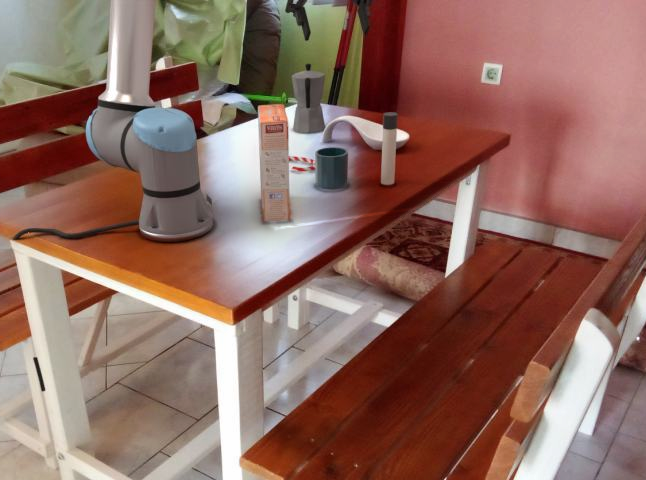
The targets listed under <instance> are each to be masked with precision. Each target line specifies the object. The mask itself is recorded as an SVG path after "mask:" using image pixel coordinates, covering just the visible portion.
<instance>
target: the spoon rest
mask: <svg viewBox="0 0 646 480" xmlns="http://www.w3.org/2000/svg"><path fill="white" fill-rule="evenodd" d="M340 123H348V124H350V125H351V126H352V127H354V129H356V131H357V133H358V134H359V135H360V136H361V138H362V139H363V140H364V142H365V144H367V145H368V146H369V147H370V148H371V149H372V150H373V151H382V142H383V124H380V123H377V122H374V121H371V120H368V119H365V118H361V117H358V116H354V115H341V116H339V117H337V118H335V119H333V120H332V121H329V123H328V124H326V125H325V128H324V130H323V132H322V135H321V136H322V137H321V142H322V143H326V142H329V141H331V140H332V138H333V131H334V128H335V126H337V125H338V124H340ZM409 139H410V134H409V133H408V132H407V131H404V130H402V129H399V128H397V136H396V150H397V149H399V148H401V147H403V146H404V145H405V144H406V143H407V142H408V141H409Z"/></svg>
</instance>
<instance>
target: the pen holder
mask: <svg viewBox="0 0 646 480" xmlns="http://www.w3.org/2000/svg"><path fill="white" fill-rule="evenodd" d="M314 160H315V172H314V173H315V174H314V175H315V177H314V178H315V187H317V188H319V189H323V190H338V189H342V188H345V187H347V186H348V182H349V150H348V149H347V148H344V147H337V146H327V147H323V148H320V149H319V148H318V149H317V150H316V151H315V152H314Z"/></svg>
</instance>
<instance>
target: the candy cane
mask: <svg viewBox="0 0 646 480" xmlns="http://www.w3.org/2000/svg"><path fill="white" fill-rule="evenodd" d="M295 161H296V162H305V163H309V164H311V165H310V166H305V167H304V166H302V167H299V166H292V167H291V170H292V171H296V172H311V171H314V170H315V159H313V158H309V157H303V156H295V155H289V162H295Z"/></svg>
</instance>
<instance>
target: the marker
mask: <svg viewBox="0 0 646 480" xmlns="http://www.w3.org/2000/svg"><path fill="white" fill-rule="evenodd" d="M398 121H399V114H398V113H397V112H395V111H393V112H392V111H389V112H388V111H387V112H384V113H383V115H382V125H383V142H382V150H381V168H380V169H381V172H380V184H381V185H385V186H390V185H394V184H395V173H396V154H397V152H396V151H397V149H396V136H397V129H398Z"/></svg>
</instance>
